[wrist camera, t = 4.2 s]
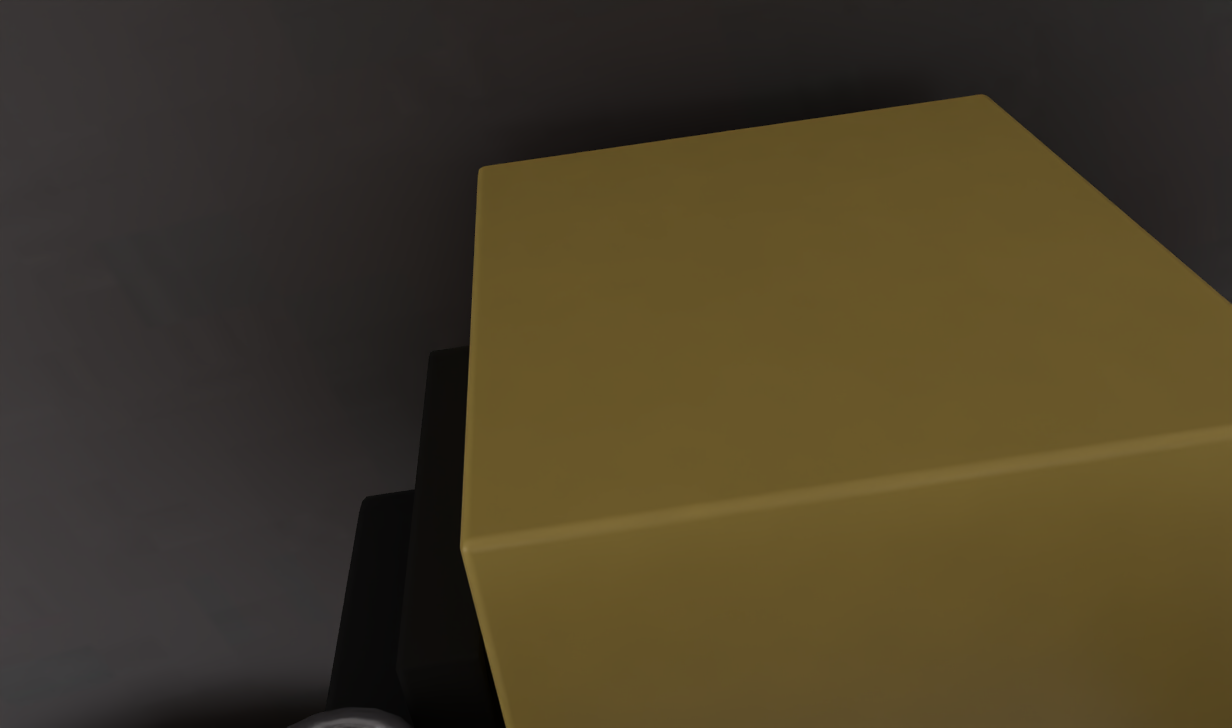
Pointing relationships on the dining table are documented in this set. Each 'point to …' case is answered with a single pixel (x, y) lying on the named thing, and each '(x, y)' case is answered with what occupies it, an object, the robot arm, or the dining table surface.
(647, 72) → the dining table surface
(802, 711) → the cheese
